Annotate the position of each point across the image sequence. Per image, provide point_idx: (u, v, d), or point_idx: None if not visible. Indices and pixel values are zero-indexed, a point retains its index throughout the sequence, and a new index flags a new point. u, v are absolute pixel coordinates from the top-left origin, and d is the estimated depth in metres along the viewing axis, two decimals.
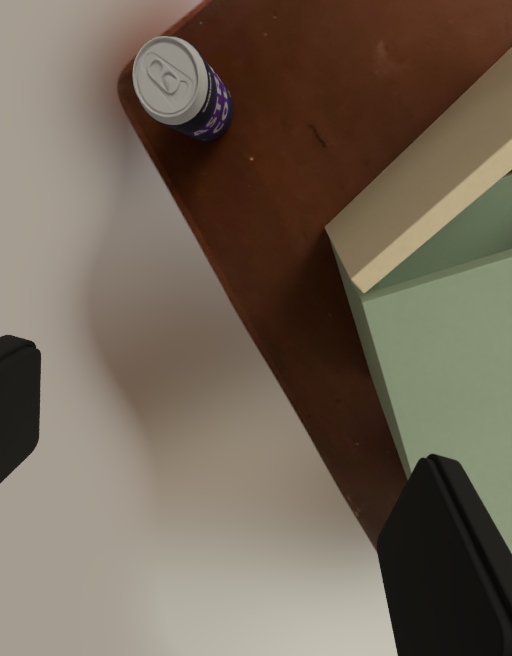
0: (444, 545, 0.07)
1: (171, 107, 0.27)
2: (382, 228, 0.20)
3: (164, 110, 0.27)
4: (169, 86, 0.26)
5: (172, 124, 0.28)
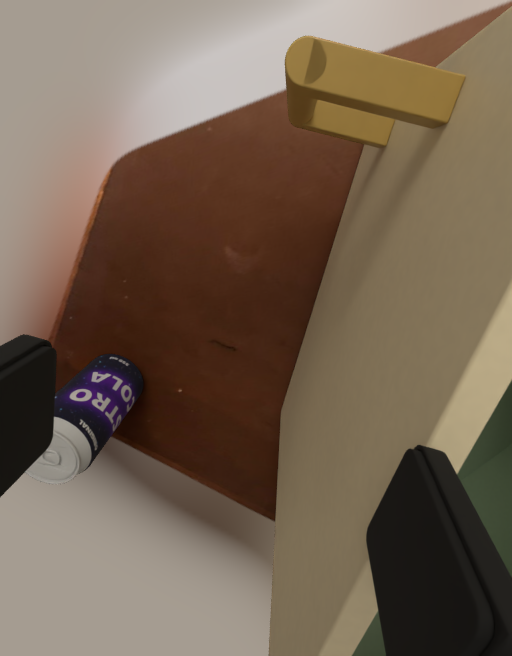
0: (427, 531, 0.07)
1: (65, 472, 0.27)
2: (282, 619, 0.17)
3: (61, 477, 0.27)
4: (53, 460, 0.26)
5: None
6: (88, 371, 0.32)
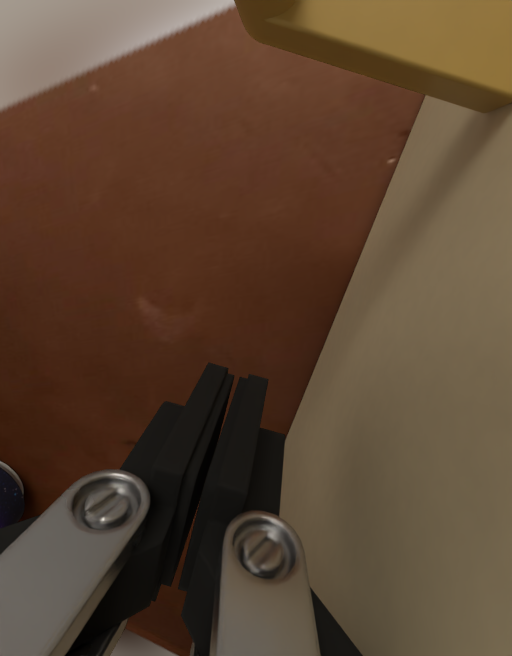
0: None
1: None
2: None
3: None
4: None
5: None
6: None
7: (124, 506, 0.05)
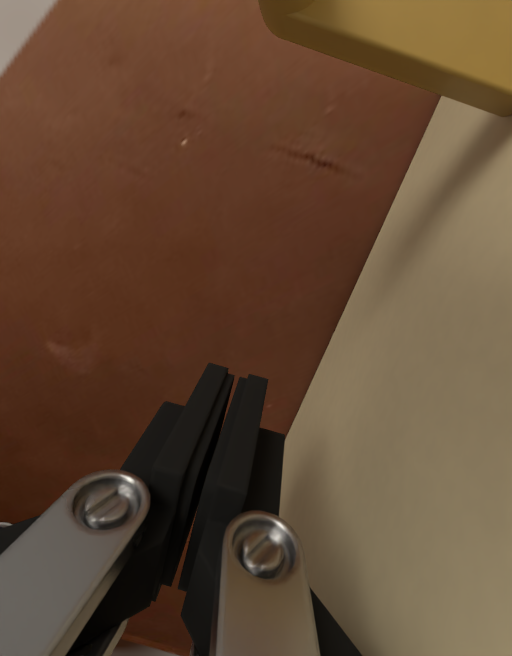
0: None
1: None
2: None
3: None
4: None
5: None
6: None
7: (125, 506, 0.05)
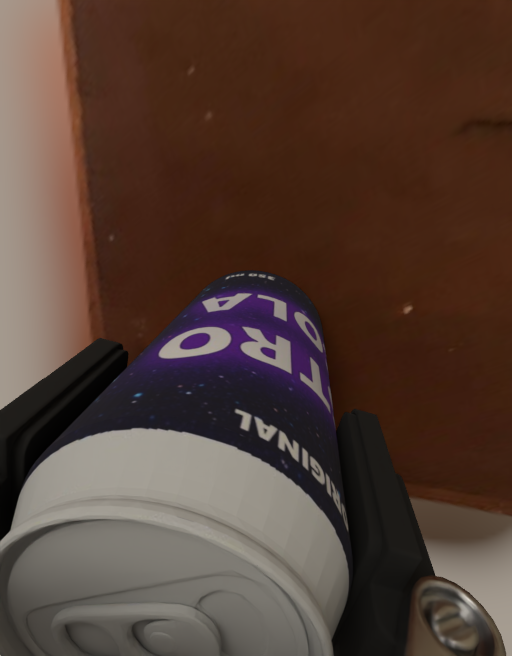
0: (347, 479, 0.07)
1: None
2: None
3: None
4: (188, 652, 0.05)
5: None
6: (191, 306, 0.11)
7: None
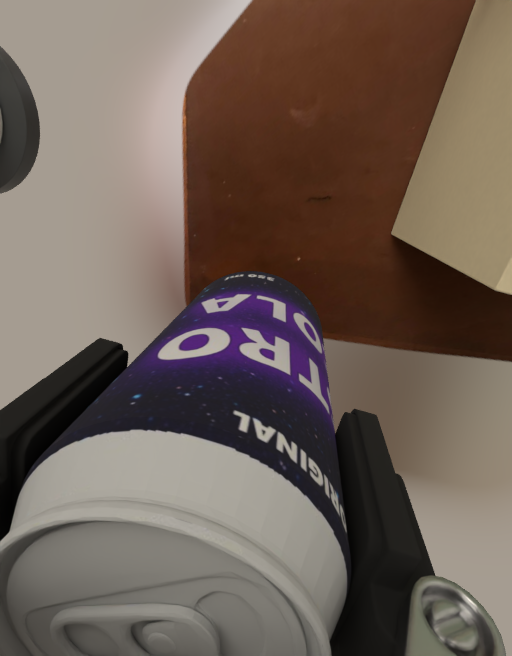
0: (348, 479, 0.07)
1: None
2: (486, 228, 0.21)
3: None
4: (186, 653, 0.05)
5: None
6: (190, 307, 0.11)
7: None
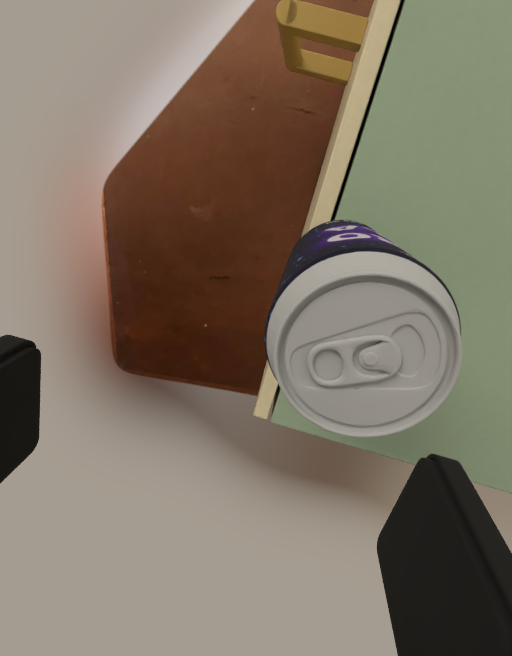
0: (444, 545, 0.07)
1: (419, 390, 0.10)
2: None
3: (410, 407, 0.10)
4: (382, 365, 0.10)
5: None
6: (315, 234, 0.16)
7: None
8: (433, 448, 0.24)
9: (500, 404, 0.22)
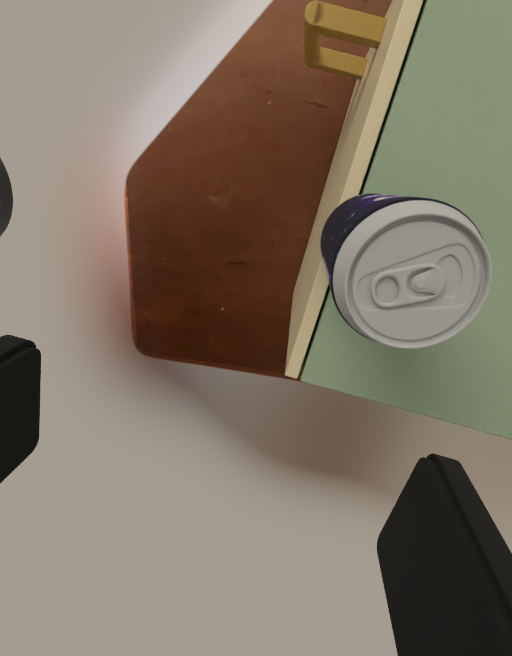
0: (444, 545, 0.07)
1: (457, 308, 0.13)
2: (295, 326, 0.31)
3: (450, 322, 0.13)
4: (429, 288, 0.13)
5: None
6: (353, 202, 0.19)
7: None
8: (446, 400, 0.27)
9: (505, 358, 0.26)
